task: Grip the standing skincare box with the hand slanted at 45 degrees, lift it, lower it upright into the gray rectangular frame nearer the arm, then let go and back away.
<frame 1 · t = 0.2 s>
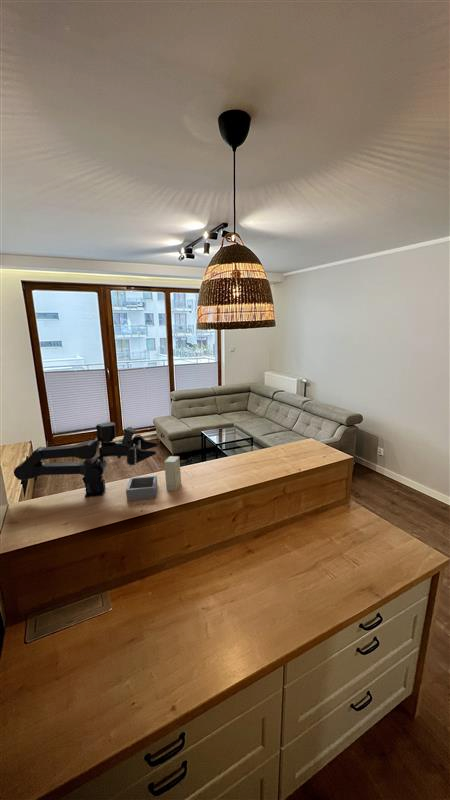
hand: (156, 448, 127), 17 cm above the table, tool horizontal, fingers open, 9 cm apart
skincare box: (174, 487, 131), on the table
gray rectangular frame: (143, 493, 126), on the table
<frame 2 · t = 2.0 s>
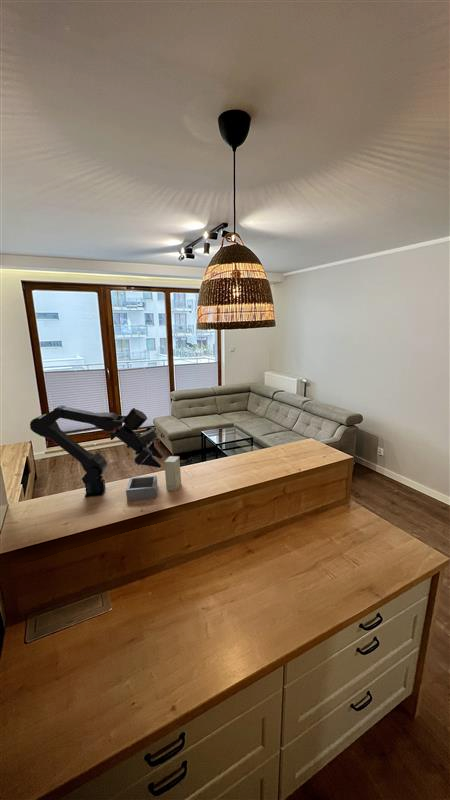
hand: (161, 462, 128), 11 cm above the table, tool tilted 45°, fingers open, 9 cm apart
nothing on the table moved.
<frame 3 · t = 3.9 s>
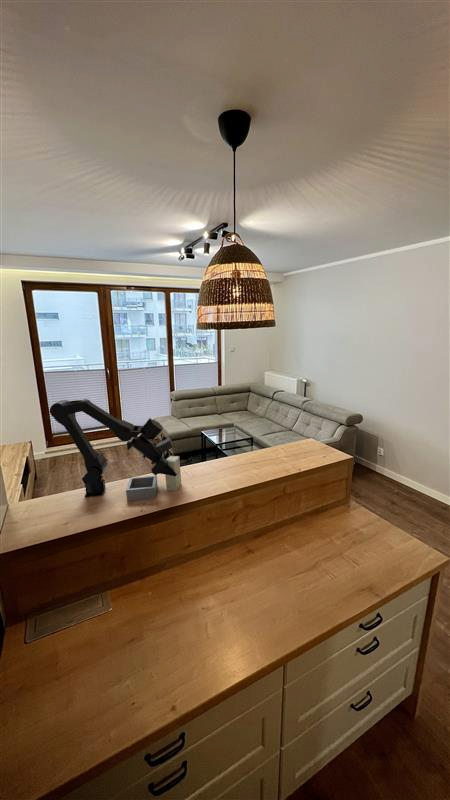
hand: (176, 471, 129), 7 cm above the table, tool tilted 45°, fingers closed on skincare box, 7 cm apart
skincare box: (174, 487, 131), on the table, touching gripper
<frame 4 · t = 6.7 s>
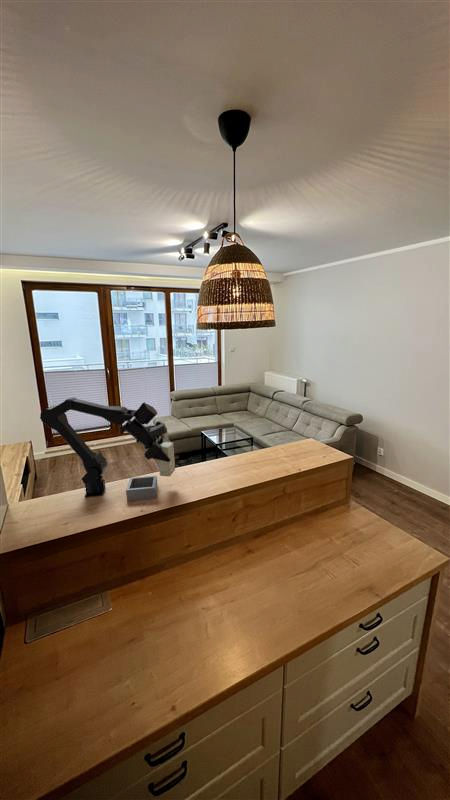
hand: (170, 457, 127), 13 cm above the table, tool tilted 45°, fingers closed on skincare box, 7 cm apart
skincare box: (167, 473, 129), point 6 cm above the table, touching gripper
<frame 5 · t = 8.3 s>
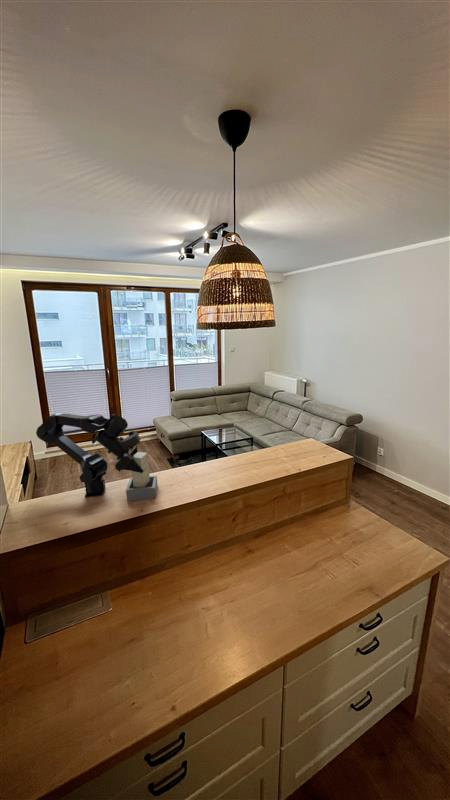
hand: (143, 467, 124), 11 cm above the table, tool tilted 45°, fingers closed on skincare box, 7 cm apart
skincare box: (141, 484, 126), point 4 cm above the table, touching gripper
when the fingers open (8 cm above the table, at t = 9.4 s): skincare box drops 1 cm, resting in gray rectangular frame.
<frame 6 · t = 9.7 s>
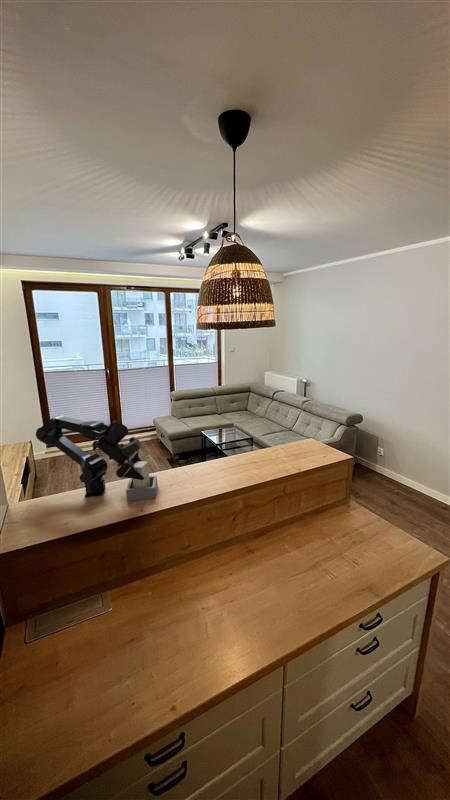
hand: (144, 473, 125), 8 cm above the table, tool tilted 45°, fingers open, 9 cm apart
skincare box: (142, 493, 126), resting in gray rectangular frame
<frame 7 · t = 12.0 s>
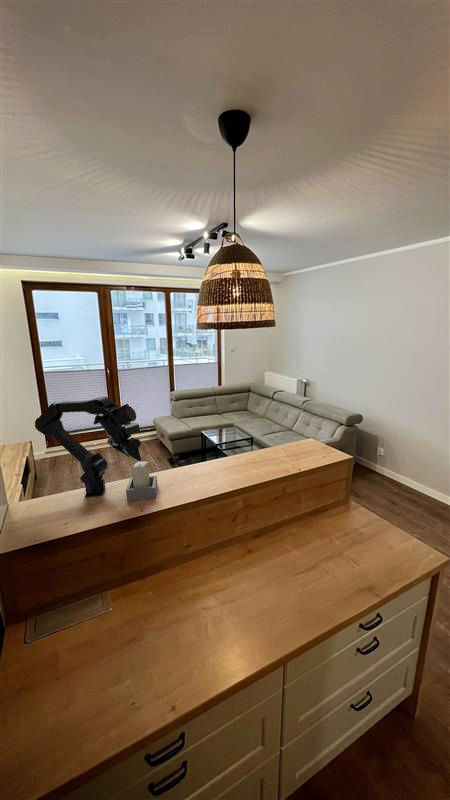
hand: (135, 458, 128), 13 cm above the table, tool tilted 25°, fingers open, 9 cm apart
nothing on the table moved.
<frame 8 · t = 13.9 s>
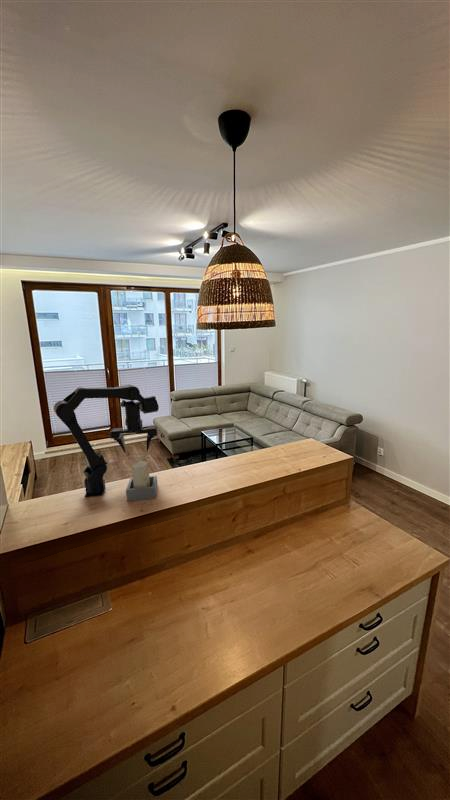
hand: (136, 451, 135), 13 cm above the table, tool pointing down, fingers open, 9 cm apart
nothing on the table moved.
at the end: skincare box 0.3 cm off-centre on the gray rectangular frame, point 0.0 cm above the gray rectangular frame's base; skincare box tilted 0°; the gripper is holding nothing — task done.
